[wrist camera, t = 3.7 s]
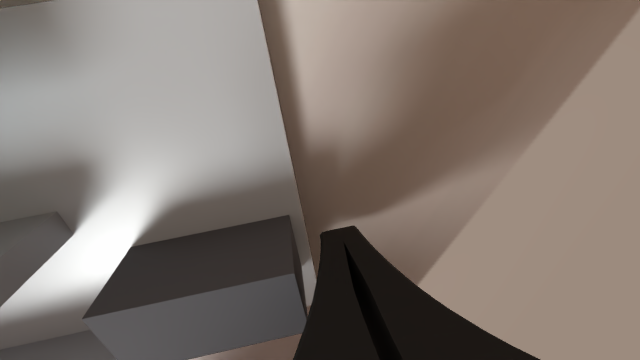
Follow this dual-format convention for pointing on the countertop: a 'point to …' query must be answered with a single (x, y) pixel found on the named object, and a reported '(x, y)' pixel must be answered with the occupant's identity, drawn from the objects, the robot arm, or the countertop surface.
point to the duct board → (127, 150)
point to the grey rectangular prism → (203, 294)
